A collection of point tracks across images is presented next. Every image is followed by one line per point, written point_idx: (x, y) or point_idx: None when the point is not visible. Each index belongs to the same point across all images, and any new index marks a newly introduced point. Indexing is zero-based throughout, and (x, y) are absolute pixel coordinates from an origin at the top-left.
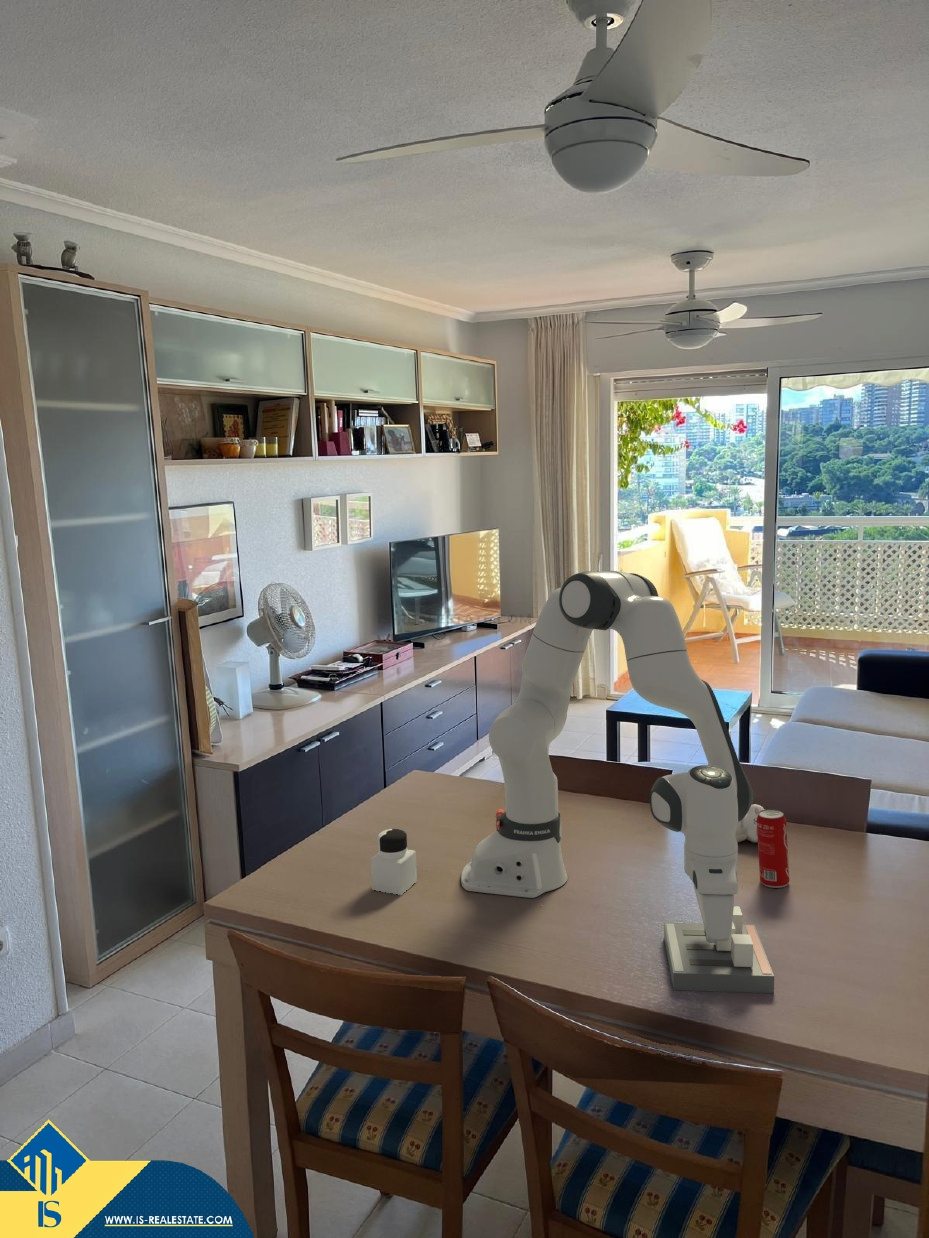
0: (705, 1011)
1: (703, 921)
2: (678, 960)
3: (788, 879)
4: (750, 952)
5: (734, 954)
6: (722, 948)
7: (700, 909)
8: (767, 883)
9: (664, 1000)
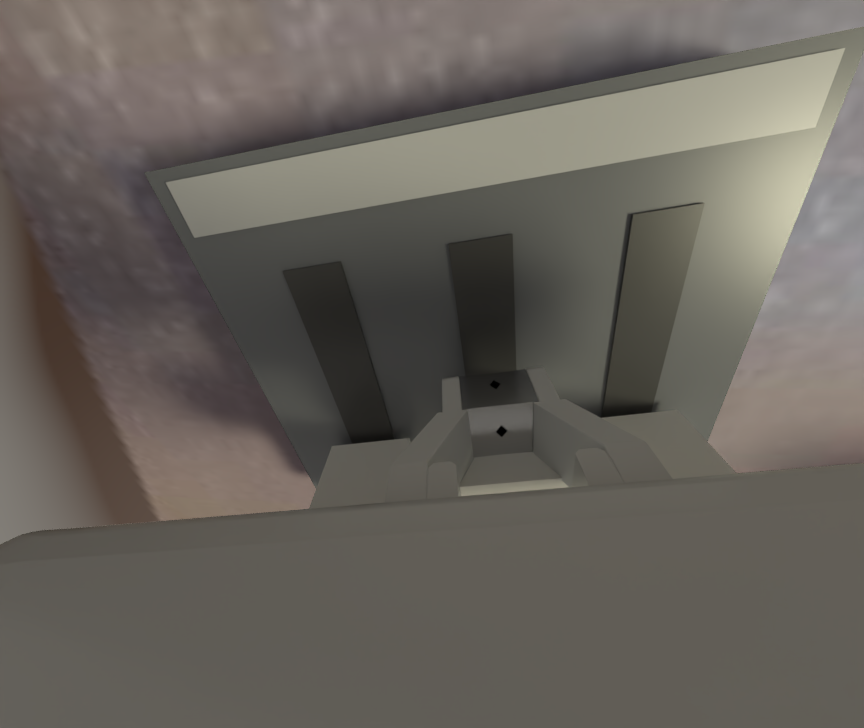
0: (138, 311)
1: (204, 561)
2: (296, 198)
3: None
4: None
5: (316, 490)
6: None
7: (478, 551)
8: None
9: (93, 124)
